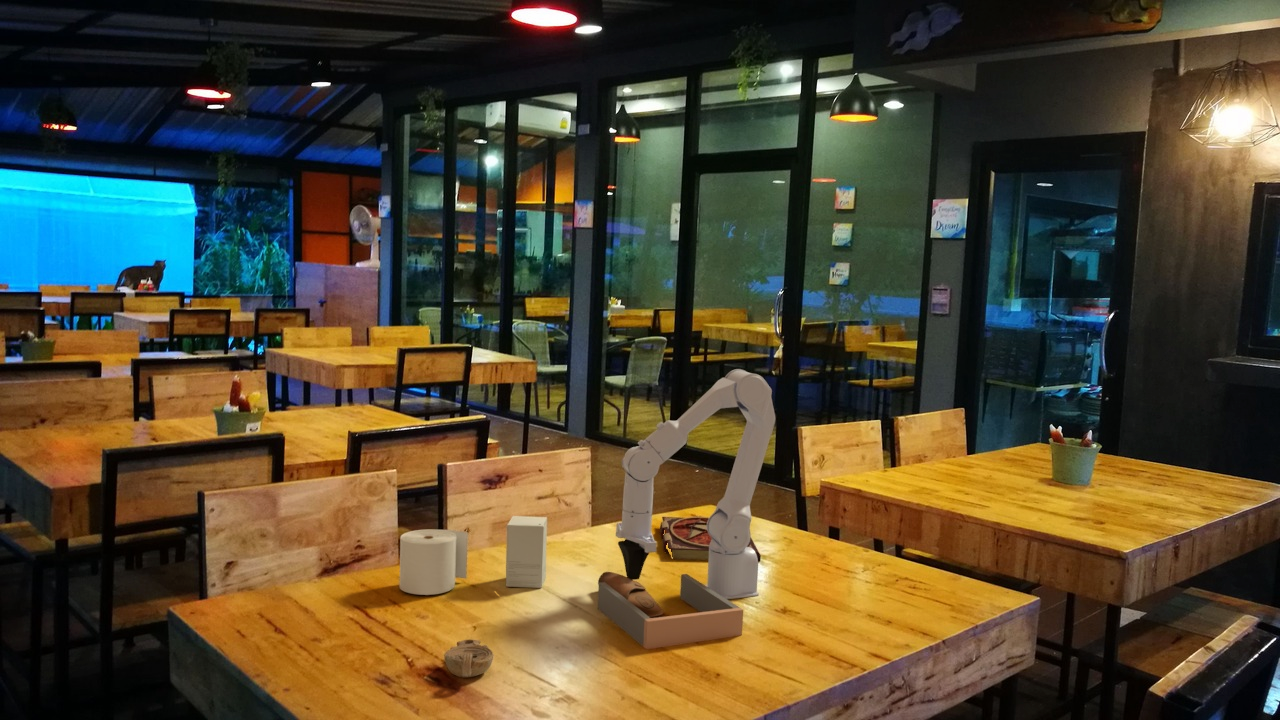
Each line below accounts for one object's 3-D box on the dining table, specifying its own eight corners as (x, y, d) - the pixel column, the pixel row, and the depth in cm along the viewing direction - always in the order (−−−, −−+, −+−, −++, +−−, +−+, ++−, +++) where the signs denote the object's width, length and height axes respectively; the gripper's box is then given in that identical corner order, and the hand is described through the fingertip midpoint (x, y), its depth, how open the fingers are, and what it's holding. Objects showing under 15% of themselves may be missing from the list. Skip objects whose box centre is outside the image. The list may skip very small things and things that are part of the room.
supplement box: (546, 577, 197) (548, 516, 196) (541, 589, 190) (544, 525, 189) (510, 575, 197) (512, 514, 196) (504, 587, 190) (506, 524, 189)
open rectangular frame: (685, 599, 187) (686, 573, 187) (741, 637, 168) (743, 609, 168) (597, 609, 180) (598, 582, 179) (646, 650, 161) (647, 621, 160)
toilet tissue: (387, 590, 185) (388, 538, 184) (424, 573, 196) (425, 524, 196) (434, 599, 181) (436, 546, 181) (469, 581, 192) (470, 532, 192)
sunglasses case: (667, 613, 175) (649, 584, 174) (635, 636, 174) (617, 607, 172) (638, 582, 192) (621, 556, 191) (609, 603, 191) (592, 577, 189)
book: (760, 566, 213) (761, 544, 213) (664, 563, 212) (665, 540, 212) (742, 532, 241) (743, 512, 241) (658, 529, 241) (659, 509, 240)
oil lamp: (448, 655, 155) (449, 625, 155) (495, 656, 156) (496, 626, 156) (438, 690, 142) (439, 657, 142) (489, 691, 143) (490, 658, 142)
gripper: (603, 501, 191) (600, 569, 192) (633, 520, 177) (629, 592, 179) (636, 500, 194) (632, 566, 195) (668, 518, 180) (663, 589, 182)
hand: (633, 578), depth 187 cm, fingers closed, pressing on sunglasses case
